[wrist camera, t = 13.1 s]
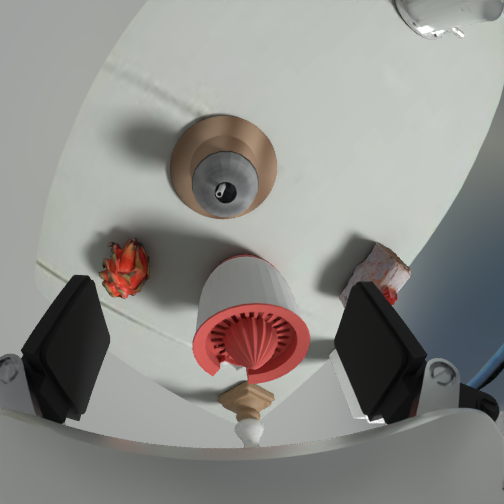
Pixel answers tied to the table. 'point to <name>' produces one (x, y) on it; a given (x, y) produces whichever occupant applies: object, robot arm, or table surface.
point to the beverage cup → (225, 183)
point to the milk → (348, 389)
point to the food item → (380, 273)
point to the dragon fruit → (125, 269)
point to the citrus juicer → (249, 321)
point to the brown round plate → (222, 139)
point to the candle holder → (247, 410)
